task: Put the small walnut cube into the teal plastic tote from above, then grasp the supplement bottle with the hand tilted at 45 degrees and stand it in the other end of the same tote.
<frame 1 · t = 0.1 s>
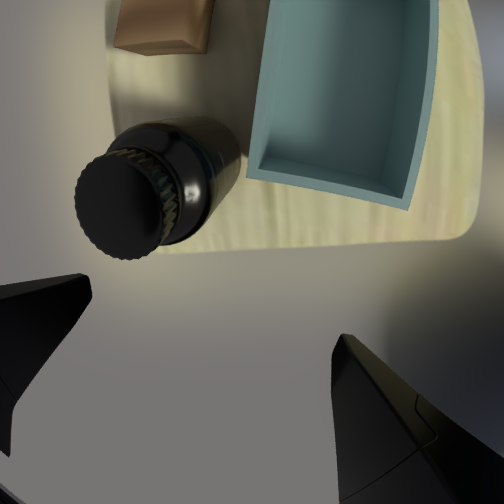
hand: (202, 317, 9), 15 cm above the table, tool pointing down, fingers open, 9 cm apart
tote: (340, 69, 17), on the table
supplement bottle: (201, 159, 22), on the table
walnut cube: (179, 26, 17), on the table
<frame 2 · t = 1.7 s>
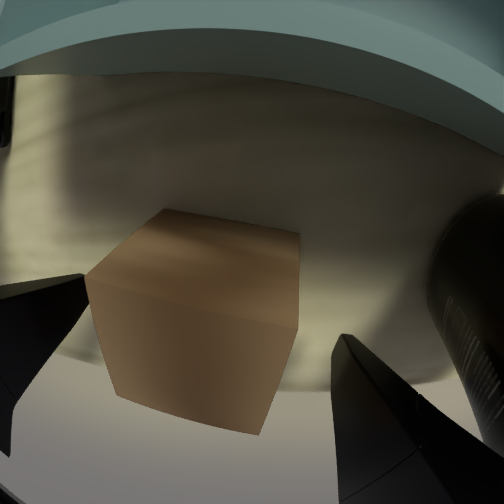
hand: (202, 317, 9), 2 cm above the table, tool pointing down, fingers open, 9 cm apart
supplement bottle: (485, 263, 9), on the table, touching gripper
walnut cube: (222, 278, 11), on the table
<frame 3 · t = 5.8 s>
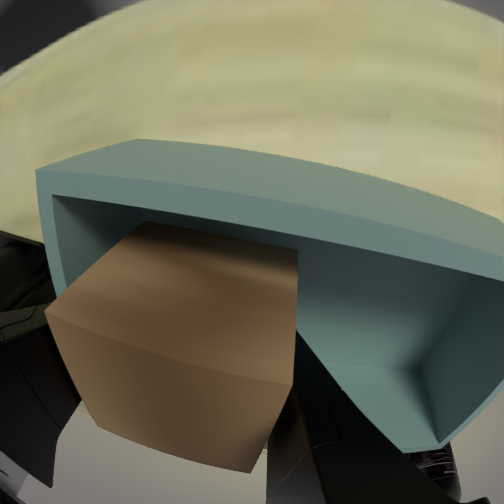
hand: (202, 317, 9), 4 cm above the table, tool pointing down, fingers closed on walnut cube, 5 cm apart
tote: (313, 280, 12), on the table
supplement bottle: (390, 408, 16), on the table
walnut cube: (211, 298, 10), point 3 cm above the table, touching gripper
when the fingers open (9 cm above the table, at t = 14.3 s): walnut cube stays where it is, resting on tote.
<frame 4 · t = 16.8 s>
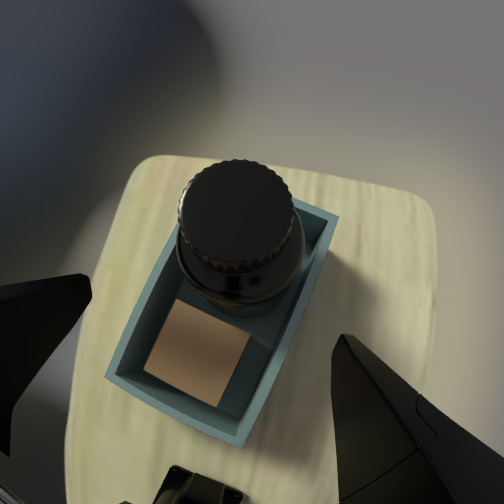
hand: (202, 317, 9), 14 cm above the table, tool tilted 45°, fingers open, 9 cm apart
tote: (228, 309, 23), on the table
supplement bottle: (244, 276, 23), resting on tote
walnut cube: (207, 351, 21), point 1 cm above the table, touching tote
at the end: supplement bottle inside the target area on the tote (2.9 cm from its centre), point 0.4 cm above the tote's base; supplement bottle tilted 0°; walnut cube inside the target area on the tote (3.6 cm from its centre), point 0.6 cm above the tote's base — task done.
